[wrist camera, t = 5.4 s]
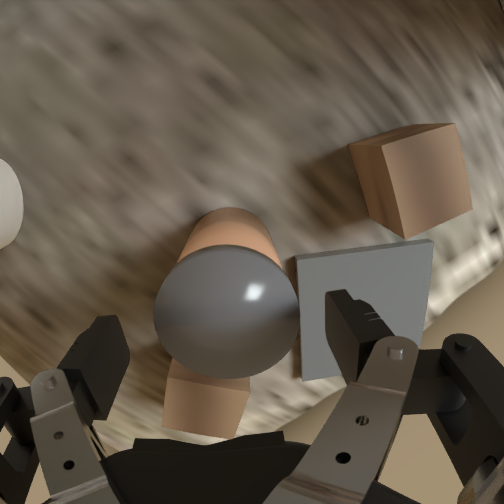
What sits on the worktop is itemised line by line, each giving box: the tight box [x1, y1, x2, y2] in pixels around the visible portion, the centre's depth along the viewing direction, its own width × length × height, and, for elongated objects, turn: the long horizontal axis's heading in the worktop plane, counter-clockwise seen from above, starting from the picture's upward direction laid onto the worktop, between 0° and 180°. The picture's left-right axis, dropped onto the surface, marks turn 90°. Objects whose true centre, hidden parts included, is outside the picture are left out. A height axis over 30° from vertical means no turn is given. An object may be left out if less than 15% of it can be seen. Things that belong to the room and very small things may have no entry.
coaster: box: [295, 239, 434, 381], centre depth 22 cm, size 10×10×1 cm
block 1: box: [162, 357, 250, 439], centre depth 21 cm, size 5×5×5 cm
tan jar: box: [153, 207, 300, 379], centre depth 16 cm, size 6×6×9 cm
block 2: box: [348, 123, 473, 239], centre depth 17 cm, size 5×5×5 cm
